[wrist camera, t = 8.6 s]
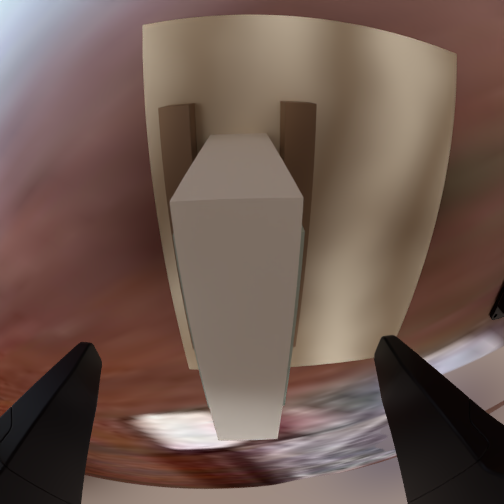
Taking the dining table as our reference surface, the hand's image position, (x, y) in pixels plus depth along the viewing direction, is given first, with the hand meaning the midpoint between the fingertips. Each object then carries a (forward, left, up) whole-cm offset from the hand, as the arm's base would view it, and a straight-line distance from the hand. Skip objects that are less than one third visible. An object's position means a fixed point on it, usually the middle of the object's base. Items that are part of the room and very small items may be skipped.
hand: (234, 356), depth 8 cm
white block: (0, 0, -7) cm, 7 cm away
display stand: (-4, 0, -8) cm, 9 cm away
